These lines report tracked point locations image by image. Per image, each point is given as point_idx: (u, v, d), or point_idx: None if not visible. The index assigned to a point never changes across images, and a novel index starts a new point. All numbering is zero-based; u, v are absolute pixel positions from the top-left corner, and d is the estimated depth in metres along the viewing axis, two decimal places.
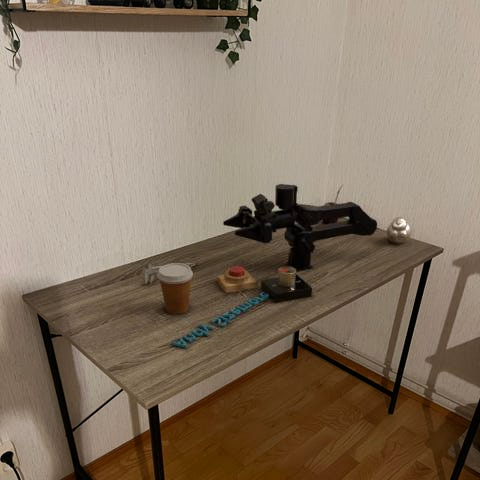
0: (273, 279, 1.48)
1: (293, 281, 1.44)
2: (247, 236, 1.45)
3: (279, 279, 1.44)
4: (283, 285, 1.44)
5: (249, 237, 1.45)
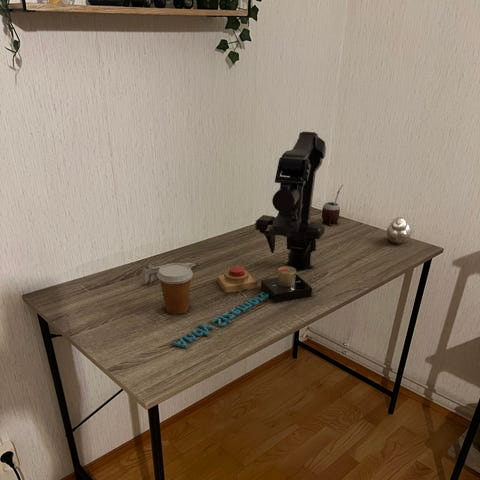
0: (273, 279, 1.48)
1: (293, 281, 1.44)
2: (309, 246, 1.39)
3: (279, 279, 1.44)
4: (283, 285, 1.44)
5: (310, 243, 1.39)
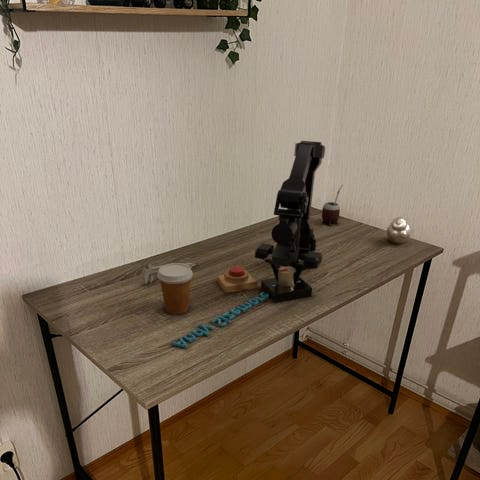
0: (273, 279, 1.48)
1: (293, 281, 1.44)
2: (301, 272, 1.44)
3: (279, 279, 1.44)
4: (283, 285, 1.44)
5: (302, 270, 1.44)
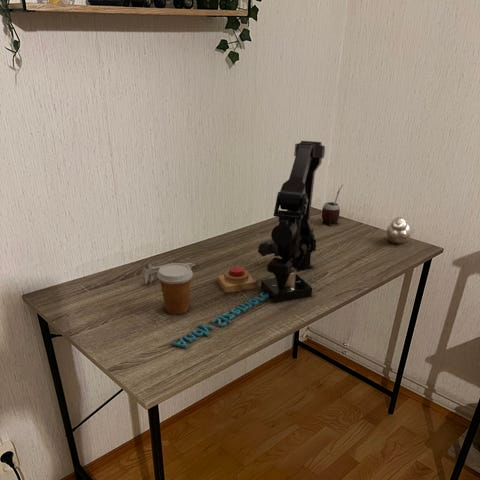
0: (273, 279, 1.48)
1: None
2: (284, 281, 1.39)
3: None
4: None
5: (285, 280, 1.38)
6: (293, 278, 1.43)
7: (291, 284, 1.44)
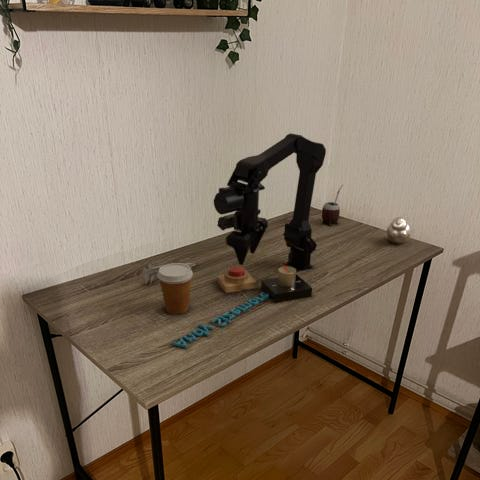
0: (273, 279, 1.48)
1: (281, 281, 1.43)
2: (243, 255, 1.39)
3: None
4: None
5: (244, 253, 1.38)
6: (293, 278, 1.43)
7: (291, 284, 1.44)
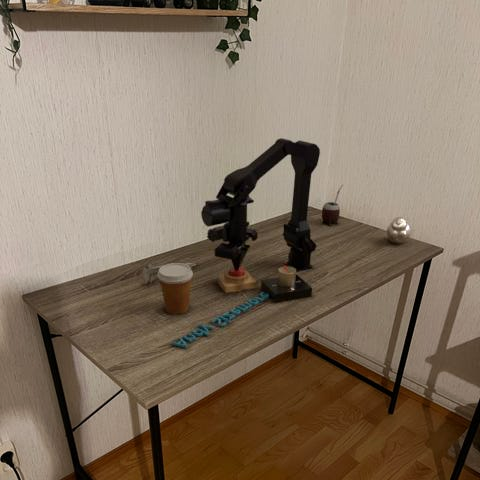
0: (273, 279, 1.48)
1: (281, 281, 1.43)
2: (238, 261, 1.46)
3: None
4: None
5: (239, 259, 1.45)
6: (293, 278, 1.43)
7: (291, 284, 1.44)
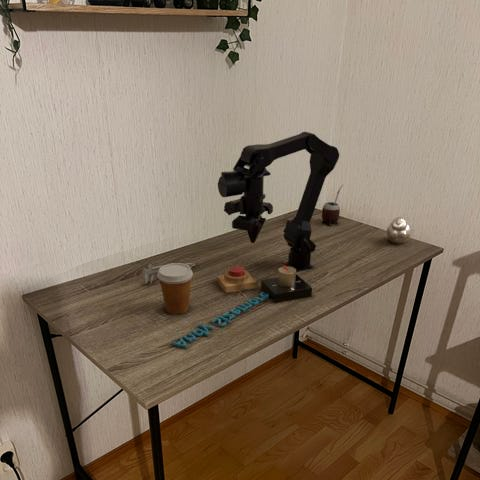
0: (273, 279, 1.48)
1: (281, 281, 1.43)
2: (255, 234, 1.47)
3: None
4: None
5: (255, 232, 1.47)
6: (293, 278, 1.43)
7: (291, 284, 1.44)
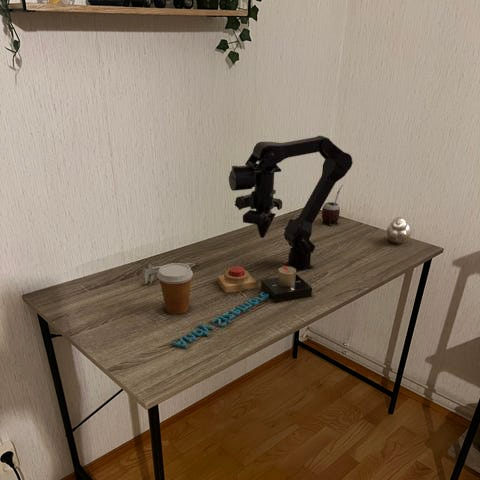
0: (273, 279, 1.48)
1: (281, 281, 1.43)
2: (264, 228, 1.51)
3: None
4: None
5: (265, 227, 1.50)
6: (293, 278, 1.43)
7: (291, 284, 1.44)
